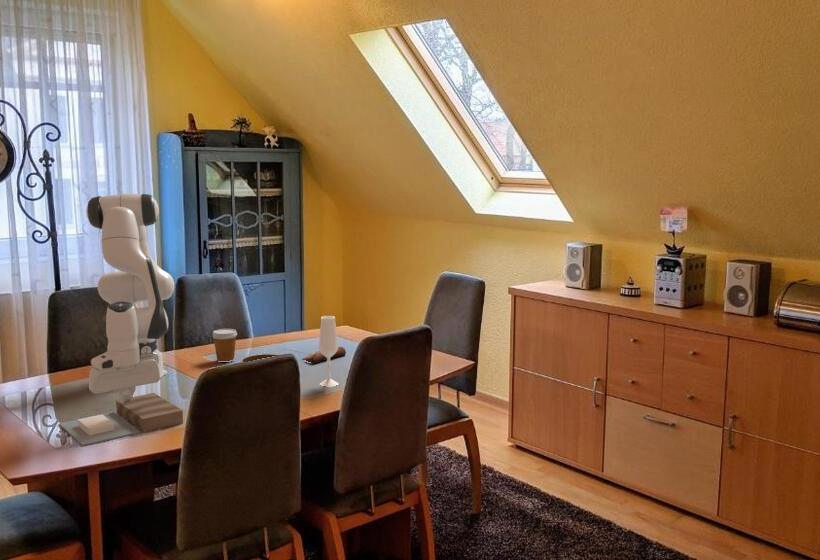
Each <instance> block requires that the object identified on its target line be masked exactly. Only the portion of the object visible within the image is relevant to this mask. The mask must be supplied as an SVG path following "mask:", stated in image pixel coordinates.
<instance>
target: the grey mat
mask: <svg viewBox="0 0 820 560" xmlns="http://www.w3.org/2000/svg"><path fill="white" fill-rule="evenodd" d="M97 415H98V414H97ZM97 415H95V416H97ZM100 415H104V416H105V417H106V418H108V419H109V420H110V421H112V422H113V423H114V430H112V431H107V432H103V433H98V434H94V435H88V434H87V433H86V432H85V431H84V430H82V429H81V428H80V427H79V426H78V419H79V418H78V419H73V420H69V421H63V422H59V423H58V425H59V426H60V428H62V429H63V430H64V431H65V432H66V433H67V434H68V435H69V436H70V437H72V439H74V441H75V442H77V443H78V444H79V445H80V446H81V447H86V446H89V445H93V444H98V443H103V442H106V441H107V442H108V441H111V440H116V439H120V438H124V437H128V436H133V435H138V434H140V433H141V430H140V429H138V428H137V427H136V426H134V425H133V424H132V423H130V422H129V421H127V420H126V419H125V418H123V417H122V416H121V415H119V414H118V413H117V412H115V411H111V412H107V413H102V414H100ZM90 417H92V415H91V416H90ZM83 418H84V417H82V418H81V419H83Z"/></svg>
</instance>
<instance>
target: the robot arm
mask: <svg viewBox="0 0 820 560" xmlns="http://www.w3.org/2000/svg"><path fill="white" fill-rule="evenodd" d="M159 214H160V209H159V204H158V202H157V200H156V198H155V197H154V196H153V195H152V194H148V193H147V194H146V193H142V194H140V193H139V194H138V193H137V194H136V193H121V194H111V195H104V196H102V195H100V196H95V197H91V198H90V199H89V201H88V202H87V205H86V217H87V219H88V222H89V224H90V225H91V226H92V227H94V228H95V229H99V230H101V251H102V257H103V259H104V261H105V262H106V264H107V265H109V266H110V267H111V268H113V269H115V270H117V271H113V272H106V273H103V274H102V275H101V276H100V278H99V280H98V282H97V292H98V294H99V297H101V299H103V301H105V302H106V303H108V304H109V305H108V306H107V308H106V314H105V315H104V316H103V317H102V331H103V336H104V337H105V338H106V339H107V342H108V343H107V348H106V349H107V350H106V351H105V352H104V353H101V354H99V355H97V356H95V357H93V358H92V359H90V364H91V366H92V367H91V368H90V370H89V373H88V388H89V391H90V393H92V394H94V395H97V394H104V393H109V392H116V393H117V395H118V396H119V397H120V400H121V403H126V402H131V401H132V397H134V394H135V392H136V390H137V389H136V388H137V387H139V386H145V385H149V384H150V385H151V384H154V383H158V382H159V381H160V380H161V378H162V377H163V376H165V375H167V374H168V371H167V370H166V369H164V365H163V356H162V352H161V351H159V349H158V340H159V339H161V338H163V336H164V335H166V334H167V332H168V331H169V318H168V315H167V311H166V310H165V307H164V305H163V301H164V300H168V299H170V298H171V297H172V296H173V293H175V291H174V290H175V280H174V279H173V277H172V275H171V274H170V273H169V272H168V271H165V270H163V269H162V268H161V267H160V266H159V265H158V264H157V263H156V262H155V260H154V259H153V257H152V255H151V250H150V247H149V242H148V234H147V233H148V232H147V227H149V226H152V225H154V224H155V223H156V222H157V221H158V217H159ZM145 302H146V303H147V302H148V306H145V307H139V306H138V304H137V303H145ZM124 389H129V392H128V394H126V395H123V393H124Z"/></svg>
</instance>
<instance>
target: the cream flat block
mask: <svg viewBox="0 0 820 560" xmlns="http://www.w3.org/2000/svg"><path fill="white" fill-rule="evenodd" d="M91 416H92V415H91ZM91 416H88V417H87V416H86V417H82V418H83V419H82V418H78V426H79V427H80V428H81V429H82V430H84V431H85V432H86V433H87V434H88V435H94V434H98V433H103V432H107V431H112V430H114V423H113V422H112V421H110V420H109V419H108V418H106V417H105V416H104V415H101V414H97V416H96V415H93V416H92V417H91Z"/></svg>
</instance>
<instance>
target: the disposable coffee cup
mask: <svg viewBox="0 0 820 560" xmlns="http://www.w3.org/2000/svg"><path fill="white" fill-rule="evenodd" d="M237 335H238V332H237V330H236V329H234V328H220V329H216V330H213V331H212V335H211V336H212V338H213V342H214V349H215V355H216V360H218V361H230V360H233V359H234V360H235V352H236V341H237Z"/></svg>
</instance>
